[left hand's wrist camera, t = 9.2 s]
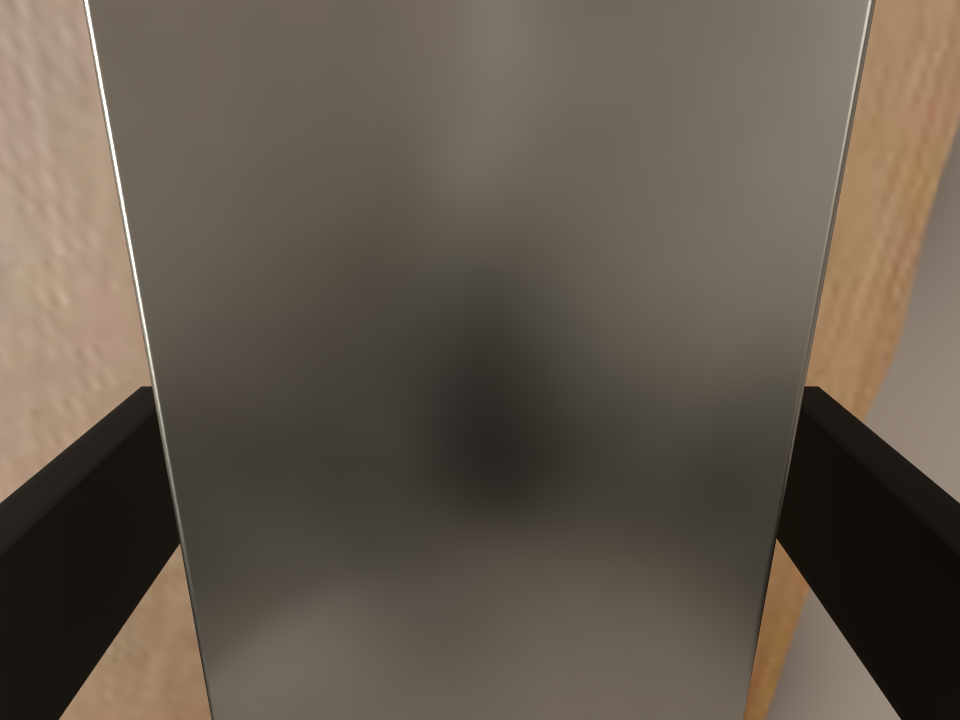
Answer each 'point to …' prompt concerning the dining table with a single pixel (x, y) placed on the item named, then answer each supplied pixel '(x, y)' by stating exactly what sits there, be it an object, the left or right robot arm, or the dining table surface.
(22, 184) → the dining table surface
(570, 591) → the bar
